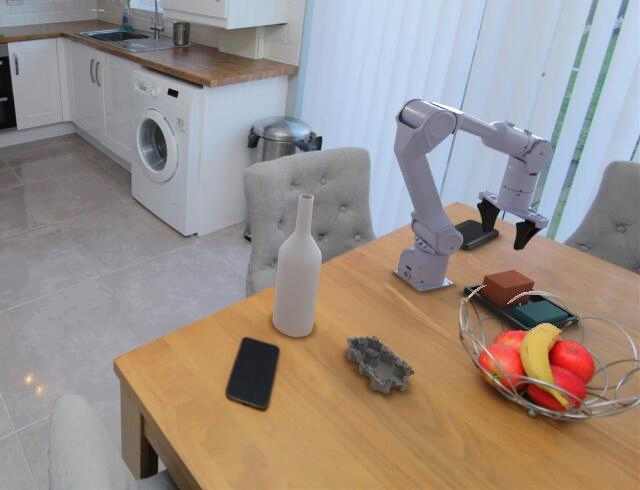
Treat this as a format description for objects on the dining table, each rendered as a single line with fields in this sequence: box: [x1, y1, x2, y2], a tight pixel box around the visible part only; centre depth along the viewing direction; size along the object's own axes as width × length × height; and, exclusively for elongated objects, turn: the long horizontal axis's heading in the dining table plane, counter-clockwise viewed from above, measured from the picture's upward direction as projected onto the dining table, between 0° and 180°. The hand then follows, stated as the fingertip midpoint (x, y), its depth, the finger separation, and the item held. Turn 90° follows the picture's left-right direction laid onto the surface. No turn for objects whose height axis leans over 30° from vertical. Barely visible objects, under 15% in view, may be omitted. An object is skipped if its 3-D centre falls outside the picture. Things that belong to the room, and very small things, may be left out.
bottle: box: [272, 193, 323, 338], centre depth 95 cm, size 8×8×30 cm
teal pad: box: [512, 300, 568, 328], centre depth 98 cm, size 8×4×2 cm, turn 104°
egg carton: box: [346, 335, 415, 395], centre depth 88 cm, size 11×8×4 cm
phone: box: [454, 219, 500, 251], centre depth 129 cm, size 8×1×15 cm
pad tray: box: [463, 282, 581, 331], centre depth 102 cm, size 13×14×2 cm
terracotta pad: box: [480, 269, 535, 308], centre depth 104 cm, size 8×5×5 cm, turn 104°
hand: (502, 240), depth 110 cm, fingers open, 7 cm apart
